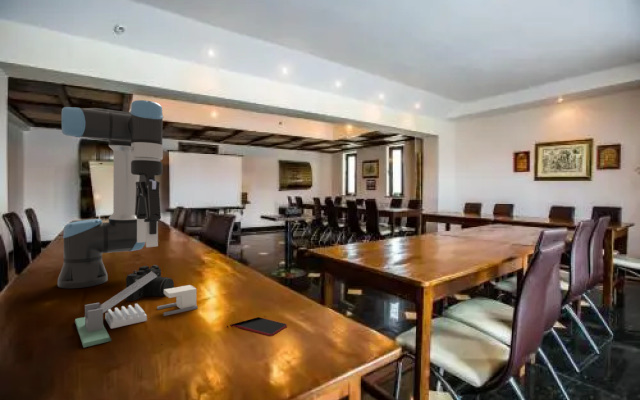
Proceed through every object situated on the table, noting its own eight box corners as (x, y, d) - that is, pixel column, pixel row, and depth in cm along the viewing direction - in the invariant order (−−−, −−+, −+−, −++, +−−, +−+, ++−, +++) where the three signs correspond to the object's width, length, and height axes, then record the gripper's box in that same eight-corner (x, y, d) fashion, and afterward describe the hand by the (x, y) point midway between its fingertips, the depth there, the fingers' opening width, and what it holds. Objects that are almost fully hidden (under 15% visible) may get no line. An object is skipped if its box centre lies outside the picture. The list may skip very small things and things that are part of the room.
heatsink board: (75, 322, 87) (75, 300, 87) (184, 300, 106) (184, 281, 106) (83, 347, 74) (83, 320, 74) (206, 317, 92) (207, 296, 92)
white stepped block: (163, 308, 96) (163, 289, 95) (190, 303, 101) (190, 284, 100) (169, 313, 92) (169, 293, 92) (196, 307, 97) (196, 288, 97)
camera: (151, 307, 100) (151, 274, 100) (120, 304, 102) (120, 271, 102) (179, 293, 114) (179, 264, 114) (152, 290, 116) (152, 262, 116)
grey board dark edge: (93, 320, 81) (90, 316, 80) (91, 315, 84) (88, 312, 83) (157, 277, 90) (155, 273, 90) (153, 274, 93) (151, 270, 93)
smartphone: (271, 334, 81) (224, 322, 88) (271, 338, 81) (224, 325, 88) (288, 324, 87) (243, 313, 94) (288, 327, 88) (243, 316, 94)
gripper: (122, 161, 95) (122, 240, 96) (141, 156, 79) (141, 251, 79) (151, 163, 100) (151, 238, 101) (174, 158, 84) (174, 248, 84)
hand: (147, 244), depth 90 cm, fingers open, 9 cm apart
